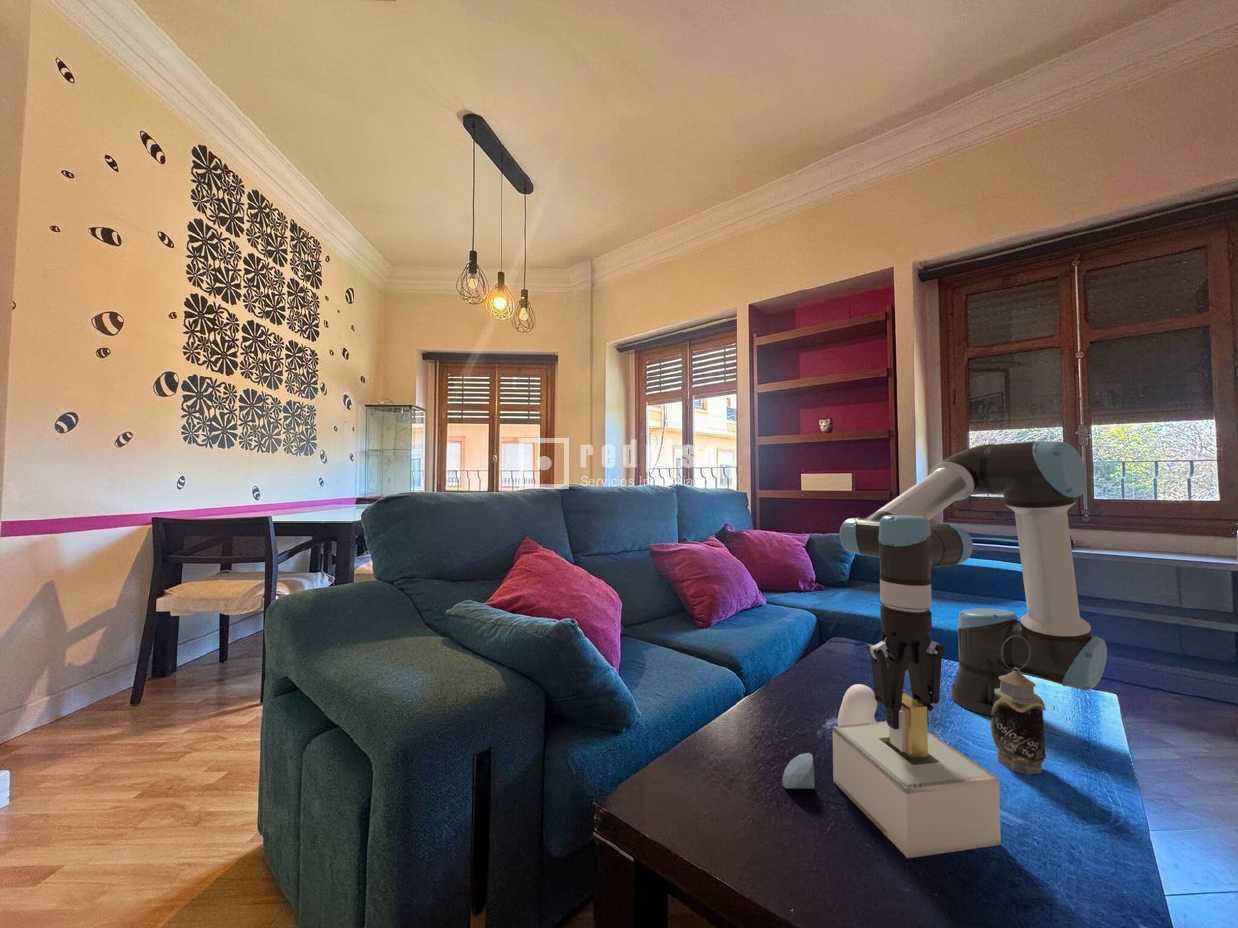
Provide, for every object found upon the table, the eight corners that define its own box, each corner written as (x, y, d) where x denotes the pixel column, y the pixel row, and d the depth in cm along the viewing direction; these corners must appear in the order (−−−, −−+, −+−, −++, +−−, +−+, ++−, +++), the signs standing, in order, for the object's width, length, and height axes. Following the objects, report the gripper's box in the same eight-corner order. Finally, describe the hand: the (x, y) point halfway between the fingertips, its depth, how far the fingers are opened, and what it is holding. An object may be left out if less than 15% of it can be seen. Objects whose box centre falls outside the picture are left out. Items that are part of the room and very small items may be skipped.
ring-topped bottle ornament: (1019, 779, 88) (1016, 643, 89) (980, 754, 96) (977, 629, 97) (1059, 774, 89) (1055, 640, 90) (1017, 750, 97) (1013, 627, 98)
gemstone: (830, 763, 88) (809, 741, 89) (830, 793, 81) (807, 769, 82) (800, 783, 90) (780, 761, 91) (797, 814, 83) (776, 790, 85)
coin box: (910, 772, 90) (909, 719, 90) (1000, 844, 72) (999, 777, 73) (833, 781, 87) (832, 726, 88) (907, 858, 70) (906, 788, 70)
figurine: (883, 753, 96) (882, 694, 97) (842, 749, 98) (842, 690, 98) (871, 735, 103) (870, 679, 103) (834, 731, 105) (833, 676, 105)
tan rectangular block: (905, 739, 83) (904, 693, 83) (927, 755, 78) (927, 706, 78) (889, 740, 82) (888, 694, 83) (911, 757, 77) (910, 707, 78)
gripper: (928, 598, 86) (931, 730, 85) (848, 602, 83) (850, 738, 83) (965, 610, 79) (968, 754, 78) (878, 614, 76) (880, 763, 75)
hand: (907, 745), depth 80 cm, fingers closed on tan rectangular block, 3 cm apart
